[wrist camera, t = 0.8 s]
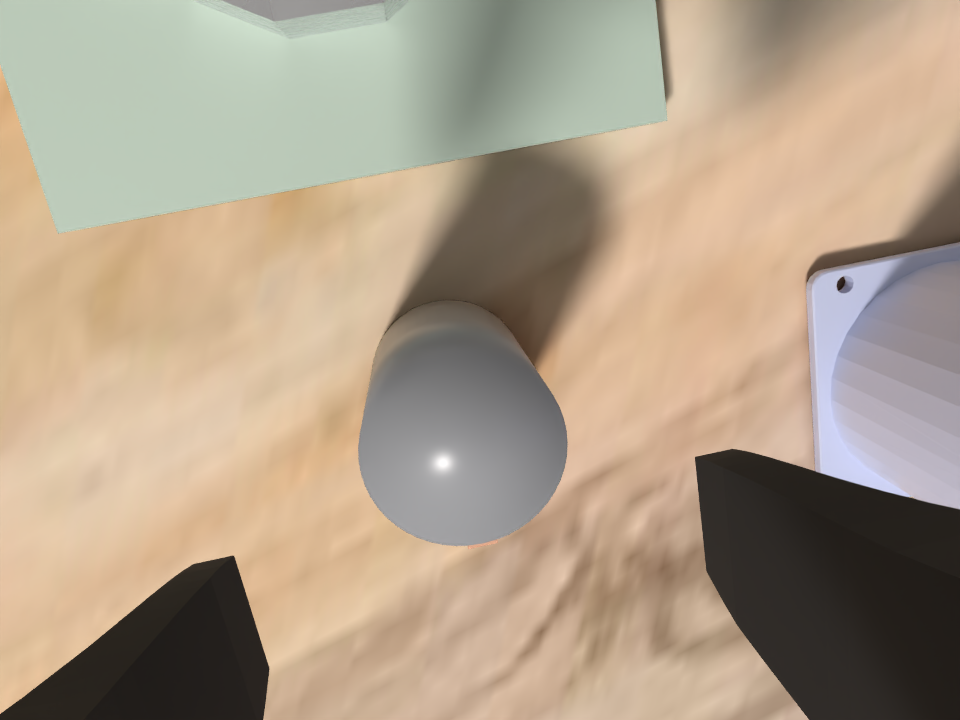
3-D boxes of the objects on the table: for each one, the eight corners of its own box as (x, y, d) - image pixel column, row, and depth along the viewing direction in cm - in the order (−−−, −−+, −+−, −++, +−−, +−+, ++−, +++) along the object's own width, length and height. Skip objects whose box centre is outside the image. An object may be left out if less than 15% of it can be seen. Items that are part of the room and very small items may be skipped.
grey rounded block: (509, 286, 20) (550, 331, 14) (535, 437, 21) (582, 534, 16) (356, 316, 20) (336, 373, 14) (392, 467, 21) (386, 576, 15)
